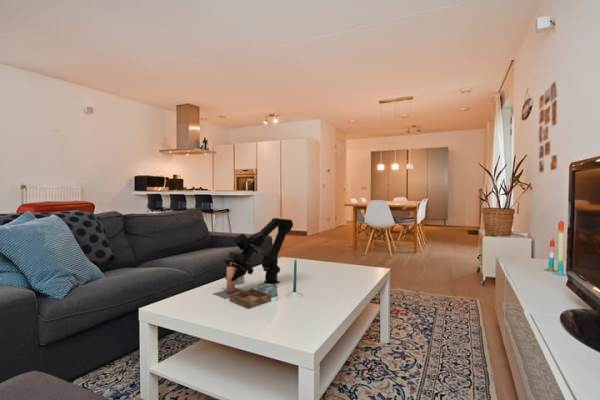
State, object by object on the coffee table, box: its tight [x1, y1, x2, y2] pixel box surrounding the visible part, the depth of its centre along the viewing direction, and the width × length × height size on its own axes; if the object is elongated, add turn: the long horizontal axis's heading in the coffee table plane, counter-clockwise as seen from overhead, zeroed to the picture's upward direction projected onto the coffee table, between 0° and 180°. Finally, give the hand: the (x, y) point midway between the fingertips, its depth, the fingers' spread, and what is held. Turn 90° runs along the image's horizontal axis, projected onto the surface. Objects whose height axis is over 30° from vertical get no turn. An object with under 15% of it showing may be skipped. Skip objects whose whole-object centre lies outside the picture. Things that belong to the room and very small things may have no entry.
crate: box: [229, 288, 272, 310], centre depth 152 cm, size 14×14×4 cm
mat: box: [212, 287, 244, 300], centre depth 163 cm, size 14×11×1 cm
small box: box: [235, 267, 245, 286], centre depth 183 cm, size 8×6×10 cm
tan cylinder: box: [226, 266, 236, 293], centre depth 163 cm, size 4×4×12 cm
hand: (228, 280), depth 162 cm, fingers closed on tan cylinder, 4 cm apart
